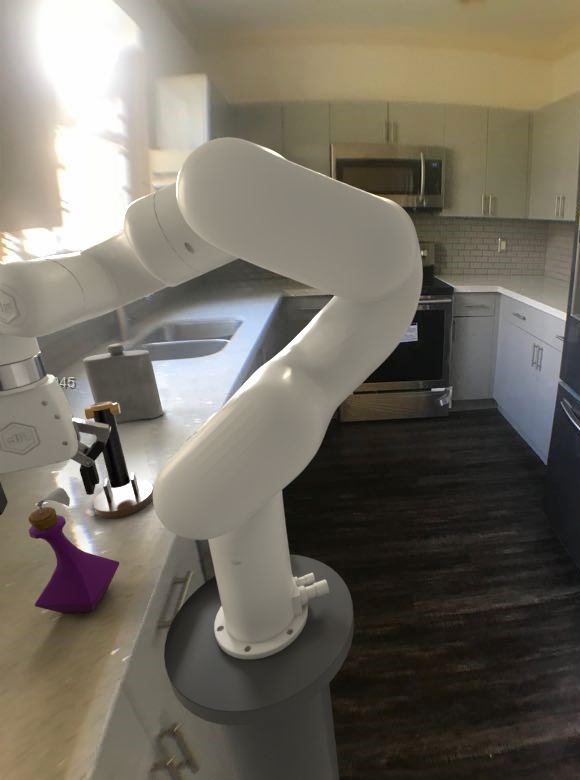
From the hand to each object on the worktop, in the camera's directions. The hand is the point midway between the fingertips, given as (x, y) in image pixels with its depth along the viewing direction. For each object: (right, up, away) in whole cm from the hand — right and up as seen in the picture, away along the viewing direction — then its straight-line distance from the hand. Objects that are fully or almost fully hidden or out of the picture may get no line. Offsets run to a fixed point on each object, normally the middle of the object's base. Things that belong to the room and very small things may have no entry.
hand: (48, 499), depth 58 cm
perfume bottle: (+1, -16, +6) cm, 17 cm away
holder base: (-6, -8, +28) cm, 30 cm away
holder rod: (-8, +4, +27) cm, 28 cm away
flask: (-24, +6, +64) cm, 68 cm away
